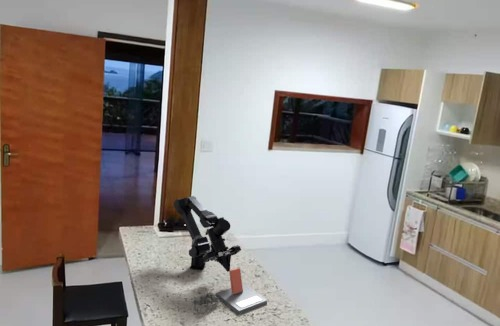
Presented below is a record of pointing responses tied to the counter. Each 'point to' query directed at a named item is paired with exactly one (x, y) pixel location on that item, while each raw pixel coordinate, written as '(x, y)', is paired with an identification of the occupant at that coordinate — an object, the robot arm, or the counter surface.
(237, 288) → the lever
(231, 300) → the base
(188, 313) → the counter surface
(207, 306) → the grey lumpy stone piece
